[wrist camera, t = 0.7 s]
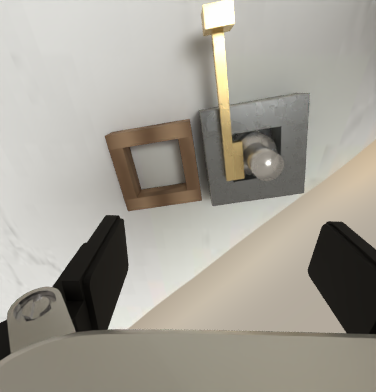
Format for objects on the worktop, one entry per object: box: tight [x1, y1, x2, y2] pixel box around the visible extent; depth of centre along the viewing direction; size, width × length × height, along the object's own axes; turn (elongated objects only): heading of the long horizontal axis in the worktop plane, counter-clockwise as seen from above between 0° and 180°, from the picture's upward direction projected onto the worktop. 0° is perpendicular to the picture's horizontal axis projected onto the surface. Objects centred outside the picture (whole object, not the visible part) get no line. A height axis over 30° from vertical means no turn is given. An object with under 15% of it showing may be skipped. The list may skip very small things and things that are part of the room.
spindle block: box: [199, 93, 310, 206], centre depth 33 cm, size 14×14×4 cm
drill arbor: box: [233, 130, 284, 181], centre depth 31 cm, size 6×6×10 cm
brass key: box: [201, 0, 245, 181], centre depth 27 cm, size 3×20×3 cm, turn 9°
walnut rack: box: [105, 119, 202, 211], centre depth 35 cm, size 12×12×4 cm
